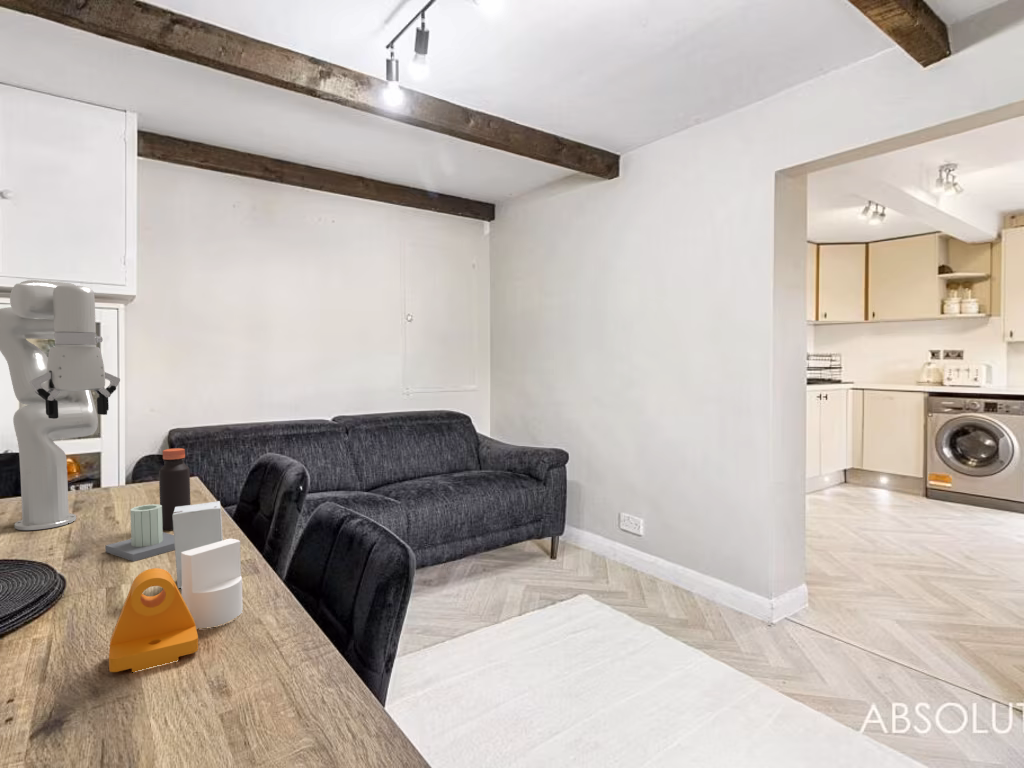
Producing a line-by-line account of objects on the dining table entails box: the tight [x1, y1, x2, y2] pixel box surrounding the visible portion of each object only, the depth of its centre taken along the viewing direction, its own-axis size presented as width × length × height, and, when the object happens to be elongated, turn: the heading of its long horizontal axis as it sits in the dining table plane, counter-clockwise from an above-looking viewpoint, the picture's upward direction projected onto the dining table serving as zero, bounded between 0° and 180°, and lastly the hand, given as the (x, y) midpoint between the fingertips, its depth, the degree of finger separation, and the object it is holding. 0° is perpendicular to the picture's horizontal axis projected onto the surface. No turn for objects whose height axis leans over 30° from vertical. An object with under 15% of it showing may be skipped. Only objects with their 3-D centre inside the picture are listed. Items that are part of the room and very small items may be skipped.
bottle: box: [158, 447, 192, 531], centre depth 149 cm, size 7×7×20 cm
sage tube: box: [129, 503, 164, 547], centre depth 132 cm, size 6×6×8 cm
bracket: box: [108, 567, 199, 673], centre depth 84 cm, size 11×7×12 cm, turn 123°
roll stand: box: [104, 531, 175, 562], centre depth 132 cm, size 12×12×8 cm
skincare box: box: [172, 500, 224, 590], centre depth 112 cm, size 8×6×15 cm
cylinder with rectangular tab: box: [181, 538, 244, 628], centre depth 97 cm, size 9×9×12 cm
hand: (78, 416), depth 132 cm, fingers open, 9 cm apart
